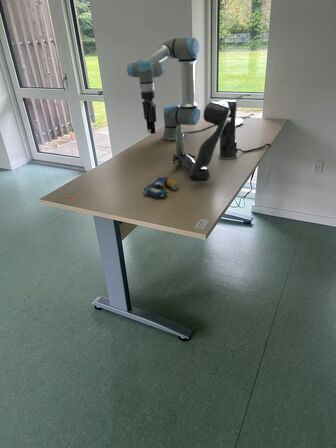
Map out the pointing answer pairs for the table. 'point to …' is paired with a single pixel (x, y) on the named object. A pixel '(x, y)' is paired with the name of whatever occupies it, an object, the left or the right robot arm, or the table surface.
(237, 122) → the spoon
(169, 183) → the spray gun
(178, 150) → the bottle
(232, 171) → the table surface
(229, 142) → the right robot arm
